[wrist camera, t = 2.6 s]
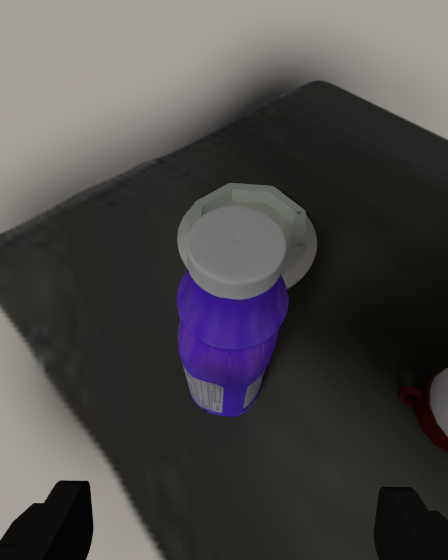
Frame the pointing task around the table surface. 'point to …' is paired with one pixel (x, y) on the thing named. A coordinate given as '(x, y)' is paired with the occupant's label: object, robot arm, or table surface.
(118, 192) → the table surface
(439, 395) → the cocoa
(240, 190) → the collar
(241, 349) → the bottle
